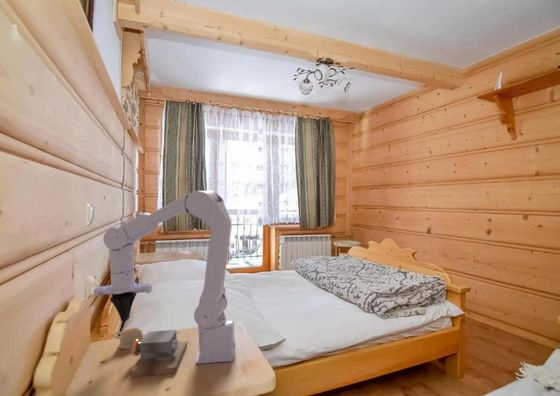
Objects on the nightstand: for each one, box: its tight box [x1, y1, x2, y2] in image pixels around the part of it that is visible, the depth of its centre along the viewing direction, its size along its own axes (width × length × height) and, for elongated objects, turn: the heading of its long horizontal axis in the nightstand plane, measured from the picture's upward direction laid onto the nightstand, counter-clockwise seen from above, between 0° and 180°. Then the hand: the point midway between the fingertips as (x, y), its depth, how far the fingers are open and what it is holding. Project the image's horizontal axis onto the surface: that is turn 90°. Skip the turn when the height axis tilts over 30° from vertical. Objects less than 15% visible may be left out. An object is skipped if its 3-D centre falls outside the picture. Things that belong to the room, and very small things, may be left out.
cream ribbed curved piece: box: [111, 326, 144, 350], centre depth 86 cm, size 4×8×5 cm, turn 126°
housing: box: [130, 329, 188, 378], centre depth 78 cm, size 10×12×6 cm
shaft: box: [130, 338, 180, 357], centre depth 78 cm, size 11×4×4 cm, turn 94°
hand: (125, 319), depth 82 cm, fingers closed
